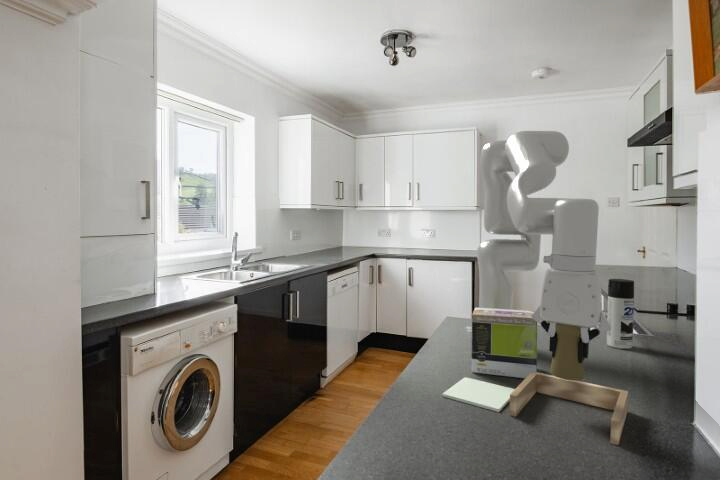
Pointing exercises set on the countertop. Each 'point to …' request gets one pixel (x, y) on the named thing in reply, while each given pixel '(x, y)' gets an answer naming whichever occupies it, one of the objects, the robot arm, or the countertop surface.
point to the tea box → (504, 342)
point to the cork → (567, 353)
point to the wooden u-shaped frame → (573, 397)
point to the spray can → (620, 313)
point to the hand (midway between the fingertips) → (568, 357)
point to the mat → (480, 394)
